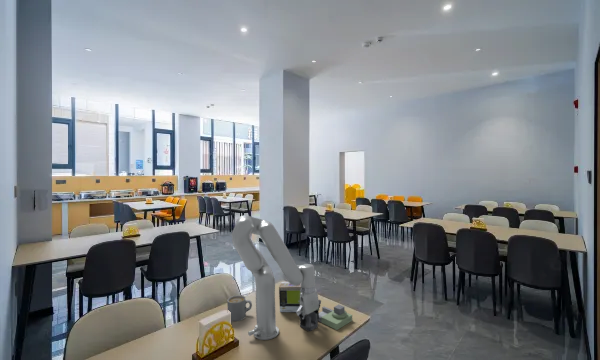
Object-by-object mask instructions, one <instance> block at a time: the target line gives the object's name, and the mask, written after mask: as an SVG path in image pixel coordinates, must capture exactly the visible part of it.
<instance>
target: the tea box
mask: <svg viewBox="0 0 600 360" xmlns="http://www.w3.org/2000/svg"><path fill="white" fill-rule="evenodd" d="M300 290H301V283H300V284H299V285H297V286H294V285H291V284H290V283H289V282H288V280H287V281H281V282H280V284H279V287H278V299H279V312H280V313H296V311H297V310H298V308H299V307H300V293H301V292H300Z"/></svg>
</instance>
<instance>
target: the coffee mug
mask: <svg viewBox="0 0 600 360" xmlns="http://www.w3.org/2000/svg"><path fill="white" fill-rule="evenodd" d="M226 301H227V304H226V305H227V311H228V310H229V311H230V312H231V322H239V321H242V320H244V319H245V318H246V316H247V312H248V311H250V310H252V307H253V304H252V301H251V300H250V299H246V297H245V296H244V295H241V294H239V295H237V294H236V295H232V296H229V297H228V298H227V300H226ZM248 303H249V306H248V307H247V304H248Z"/></svg>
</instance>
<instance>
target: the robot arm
mask: <svg viewBox="0 0 600 360" xmlns="http://www.w3.org/2000/svg"><path fill="white" fill-rule="evenodd" d="M251 234H253V235H256V236H259V237H260V239H261V240H262V242H263V244H264V246H265V247H266V249H267V250H268V252H269V253H270V256H271V257H272V259H273V260H274V261H275V263H276V264H277V266H278V267H279V268H280V271H281V272H282V273H283V275H284V277H285V278H286V279H287V281H288V282H289V283H290V284H291V285H294V286H297V285H299V284H300V283H301V290H300V292H301V293H300V307H299V308H298V310H297V311H296V312H295V314H296V315H297V317H299V323H300V322H301V325H302V326H304V327H305V326H306V320H305V315H306V314H310V313H312V312H315V313H317V317H318V319H319V313H320V308H321V304H322V300H320V299H319V295H318V291H317V290H318V289H316V275H315V266H314V265H313V264H311V263H304V264H296V262H295V259H294V258H293V256H292V255H291V253H290V251H289V249H288V247H287V246H286V243H284V240H283V238H282V237H281V235H280V234H279V232H278V231H277V229H276V227H275V226H274V225H273V224H272V222H271V221H268V220H266V219H265V220H264V219H261V218H257V217H253V216H250V215H241V216H239V217H237V219H236V222H235V225H234V228H233V229H232V233H231V241H232V245H233V247H234V249H235V250H236V252H237V253H238V255H239V257H240V259H241V260H242V262H243V264H244V266H245V268H246V269H247V270H249V271H250V272H251V274H252V276H253V277H254V283H255V311H256V312H255V313H256V315H255V316H256V325H254V328H253V329H252V330H250V331H248V332H247V334H248V336H249V337H250V336H253V337H255V338H256V339H257V340H261V341H268V340H272V339H274V338H276V337H277V336H278V335H279V334H280V328H279V326H277V323H276V322H277V321H276V319H277V318H276V277H275V274H274V273H273V271H272V268H271V266H270V265H269V263H268V262H267V260H266V258H265V257H264V254H263V253H262V252H261V250H259V249H258V248H257V247H256V246H255V244H254V242H253V241H252V239H251V237H250V236H251ZM303 313H304V314H303ZM302 314H303V316H302Z"/></svg>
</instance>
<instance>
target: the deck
mask: <svg viewBox="0 0 600 360" xmlns="http://www.w3.org/2000/svg"><path fill="white" fill-rule="evenodd" d="M321 310H322V311H319V319H318V323H321V324H322V325H323V324H324V326H325V325H326V326H328V327H330V328H332V329H334V330H335V331H338V330H339V329H341V328H342V327H344V326H346V325H348V324H349V323H351V322H352V321H353V314H351V313H348V312H347V311H346V310H345V306H343V305H341V304H336V305H335V306H333V309H332V308H329V307H326V306H322V309H321Z"/></svg>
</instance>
